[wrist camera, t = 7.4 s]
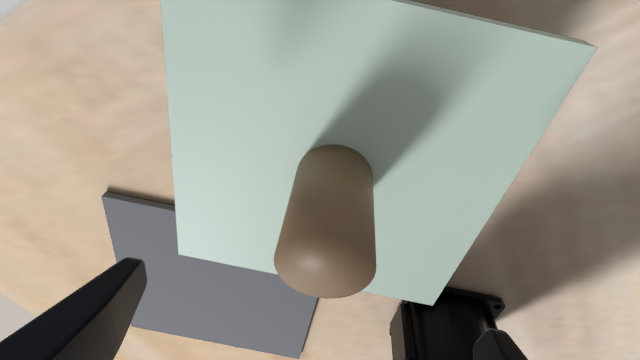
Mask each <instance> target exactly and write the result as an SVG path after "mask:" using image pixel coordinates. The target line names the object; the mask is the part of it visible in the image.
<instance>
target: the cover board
mask: <svg viewBox="0 0 640 360" xmlns="http://www.w3.org/2000/svg"><path fill="white" fill-rule="evenodd" d="M161 14H162V28H163V42H164V56H165V70H166V84H167V99H168V113H169V127H170V141H171V155H172V169H173V183H174V197H175V211H176V226H177V240H178V254H179V255H184V256H189V257H194V258H199V259H204V260H209V261H214V262H218V263H223V264H228V265H233V266H238V267H243V268H248V269H253V270H258V271H263V272H268V273H273V274H278V275H279V276H280V278H281V279H282V280H283V281H284V282H285V283H286V284H287V285H289V286H290V287H292V288H293V289H295V290H297V291H299V292H301V293H303V294H306V295H309V296H314V297H319V298H341V297H347V296H350V295H353V294H356V293H358V292H360V291H362V292H367V293H372V294H377V295H382V296H387V297H392V298H397V299H402V300H407V301H412V302H417V303H421V304H426V305H431V306H433V305H434V303H435V301H436V300H437V298H438V297H439V295H440V294H441V292H442V291H443V289H444V287H445V286H446V284H447V283H448V281H449V280H450V278H451V276H452V275H453V273H454V272H455V270H456V269H457V267H458V265H459V264H460V262H461V261H462V259H463V258H464V256H465V255H466V253H467V251H468V250H469V248H470V247H471V245H472V244H473V242H474V240H475V239H476V237H477V236H478V234H479V233H480V231H481V230H482V228H483V226H484V225H485V223H486V222H487V220H488V219H489V217H490V215H491V214H492V212H493V211H494V209H495V208H496V206H497V204H498V203H499V201H500V200H501V198H502V197H503V195H504V194H505V192H506V190H507V189H508V187H509V186H510V184H511V183H512V181H513V179H514V178H515V176H516V175H517V173H518V172H519V170H520V169H521V167H522V165H523V164H524V162H525V161H526V159H527V158H528V156H529V154H530V153H531V151H532V150H533V148H534V147H535V145H536V144H537V142H538V140H539V139H540V137H541V136H542V134H543V133H544V131H545V129H546V128H547V126H548V125H549V123H550V122H551V120H552V118H553V117H554V115H555V114H556V112H557V111H558V109H559V108H560V106H561V104H562V103H563V101H564V100H565V98H566V97H567V95H568V93H569V92H570V90H571V89H572V87H573V86H574V84H575V83H576V81H577V79H578V78H579V76H580V75H581V73H582V72H583V70H584V68H585V67H586V65H587V64H588V62H589V61H590V59H591V58H592V56H593V54H594V53H595V51H596V50H597V47H595V46H594V45H592V44H590V43H588V42H586V41H584V40H580V39H575V38H571V37H567V36H562V35H558V34H554V33H549V32H545V31H540V30H536V29H532V28H527V27H523V26H519V25H514V24H510V23H506V22H501V21H497V20H493V19H488V18H484V17H480V16H475V15H471V14H466V13H462V12H458V11H453V10H449V9H445V8H440V7H436V6H432V5H427V4H423V3H419V2H414V1H410V0H161Z"/></svg>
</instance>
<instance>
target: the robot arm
mask: <svg viewBox="0 0 640 360" xmlns="http://www.w3.org/2000/svg"><path fill="white" fill-rule="evenodd" d="M146 285H147V274H146V268H145V263H144V261H143V260H142V259H138V258H133V257H126V258H124V259H122V260H121V261H119V262H118V263H116V264H115V265H113V266H112V267H110V268H109V269H107V270H106V271H104V272H103V273H101V274H100V275H98V276H97V277H95V278H94V279H93V280H91V281H90V282H88V283H87V284H85V285H84V286H82V287H81V288H79V289H78V290H76V291H75V292H73V293H72V294H70V295H69V296H67V297H66V298H64V299H63V300H62V301H60V302H59V303H57V304H56V305H54V306H53V307H51V308H50V309H48V310H47V311H45V312H44V313H42V314H41V315H39V316H38V317H36V318H35V319H33V320H32V321H30V322H29V323H28V324H26V325H25V326H23V327H22V328H20V329H19V330H17V331H16V332H14V333H13V334H11V335H10V336H8V337H7V338H5V339H4V340H2V341H1V342H0V360H113V359H114V357H115V355H116V354H117V352H118V350H119V348H120V346H121V344H122V342H123V339H124V337H125V335H126V333H127V330H128V328H129V326H130V323H131V321H132V319H133V316H134V314H135V312H136V309H137V307H138V305H139V302H140V300H141V298H142V295H143V293H144V291H145V288H146ZM504 308H505V305H504V302H503V300H502V299H501V298H497V297H492V296H487V295H482V294H477V293H473V292H468V291H463V290H458V289H453V288H448V287H444V289H443V291H442V292H441V294H440V295H439V297H438V298H437V300H436V301H435V303H434V305H433V306H431V305H426V304H421V303H417V302H412V301H407V300H405V301H404V303H402V304H401V305H400V306H399V308H398V310H397V312H396V313H395V315H394V317H393V319H392V321H391V323H390V326H391V327H390V329H389V330H390V336H391V340H392V355H393V360H528V359H527V358H526V356H525V355H524V354H523V353H522V351H521V350H520V349H519V348H518V346H517V345H516V344H515V343H514V341H513V340H512V339H511V337H510V336H509V335H508V334H507V333H506V332H504V331H502V330H498V329H497V326H496V323H495V319H496V318H497V316H498V315H499V314H500V313H501V312H502V310H503V309H504Z"/></svg>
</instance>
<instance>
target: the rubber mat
mask: <svg viewBox="0 0 640 360" xmlns="http://www.w3.org/2000/svg"><path fill="white" fill-rule="evenodd" d="M102 200H103V205H104V209H105V213H106V218H107V222H108V226H109V231H110V235H111V239H112V244H113V248H114V252H115V257H116V261H117V263H118V262H119V261H121V260H122V259H124V258H126V257H133V258H138V259H142V260H143V261H144V263H145V268H146V274H147V285H146V288H145V291H144V293H143V295H142V298H141V300H140V302H139V305H138V307H137V309H136V312H135V314H134V316H133V319H132V321H131V326H132V327H137V328H142V329H147V330H152V331H158V332H163V333H168V334H173V335H178V336H183V337H189V338H194V339H199V340H204V341H209V342H214V343H220V344H225V345H230V346H235V347H240V348H245V349H250V350H256V351H261V352H266V353H271V354H276V355H281V356H287V357H292V358H297V359H299V357H300V354H301V351H302V348H303V344H304V341H305V338H306V334H307V331H308V328H309V324H310V321H311V318H312V315H313V311H314V308H315V305H316V301H317V298H318V297H314V296H309V295H306V294H303V293H301V292H299V291H297V290H295V289H293V288H292V287H290V286H289V285H287V284H286V283H285V282H284V281H283V280H282V279H281V278H280V276H279V275H278V274H273V273H268V272H263V271H258V270H253V269H248V268H243V267H238V266H233V265H228V264H223V263H218V262H214V261H209V260H204V259H199V258H194V257H189V256H184V255H179V254H178V240H177V226H176V211H175V206H174V205H169V204H165V203H160V202H155V201H150V200H145V199H140V198H135V197H130V196H126V195H121V194H116V193H111V192H105V193H104V194H103V195H102Z"/></svg>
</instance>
